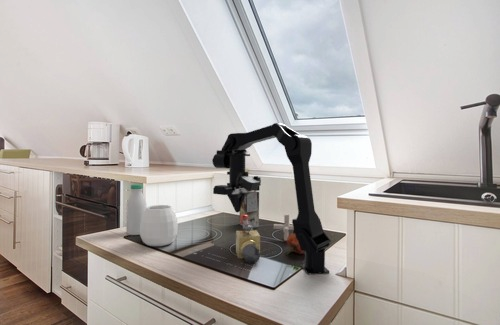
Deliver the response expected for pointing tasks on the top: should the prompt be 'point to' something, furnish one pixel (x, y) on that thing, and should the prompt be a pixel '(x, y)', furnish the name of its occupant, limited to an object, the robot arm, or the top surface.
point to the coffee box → (251, 208)
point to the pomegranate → (294, 244)
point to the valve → (248, 245)
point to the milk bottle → (135, 209)
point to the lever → (245, 222)
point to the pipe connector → (285, 226)
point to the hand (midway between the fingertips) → (237, 212)
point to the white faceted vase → (158, 225)
